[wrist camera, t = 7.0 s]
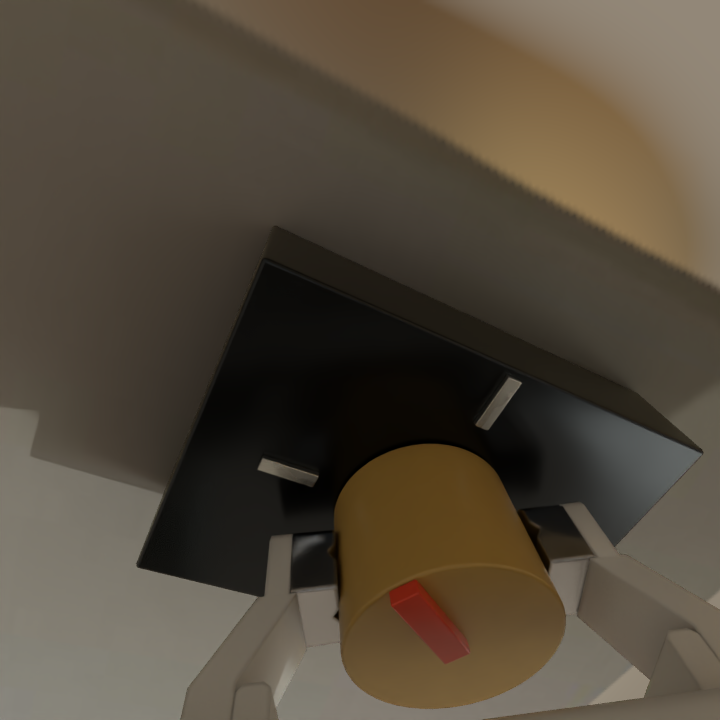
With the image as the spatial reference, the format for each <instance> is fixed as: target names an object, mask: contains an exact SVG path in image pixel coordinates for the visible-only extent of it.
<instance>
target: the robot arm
mask: <svg viewBox="0 0 720 720" xmlns="http://www.w3.org/2000/svg"><path fill="white" fill-rule="evenodd" d="M517 513H518V515H519V517H520V519H521V521H522V523H523V525H524V527H525V529H526V531H527V533H528V535H529V537H530V539H531V541H532V543H533V545H534V547H535V549H536V551H537V553H538V555H539V557H540V559H541V561H542V563H543V565H544V567H545V569H546V571H547V573H548V575H549V576H550V578H551V580H552V582H553V584H554V586H555V588H556V590H557V592H558V594H559V596H560V598H561V600H562V602H563V605H564V609H565V614H566V615H574V614H578V615H577V616H578V617H579V618H580V619H581V620H582V621H583V622H584V623H586V624H587V625H588V626H589V627H590V628H591V629H592V630H594V631H595V632H596V633H597V634H598V635H599V636H601V637H602V638H603V639H604V640H605V641H606V642H607V643H609V644H610V645H611V646H612V647H613V648H614V649H615V650H617V651H618V652H619V653H620V654H621V655H622V656H623V657H625V658H626V659H627V660H628V661H629V662H630V663H631V664H633V665H634V666H635V667H636V668H637V669H638V670H639V671H641V672H642V673H643V674H644V675H645V676H646V677H647V678H649V679H650V682H649V685H648V687H647V690H646V693H645V696H644V698H640V699H632V700H624V701H617V702H609V703H602V704H595V705H587V706H580V707H572V708H565V709H557V710H550V711H542V712H535V713H527V714H520V715H513V716H505V717H498V718H490V719H483V720H720V610H719V609H718V608H716V607H714V606H713V605H711V604H709V603H707V602H706V601H704V600H702V599H701V598H699V597H697V596H696V595H694V594H692V593H691V592H689V591H687V590H685V589H684V588H682V587H680V586H679V585H677V584H675V583H674V582H672V581H670V580H669V579H667V578H665V577H663V576H662V575H660V574H658V573H657V572H655V571H653V570H652V569H650V568H648V567H647V566H645V565H643V564H641V563H640V562H638V561H636V560H635V559H633V558H631V557H630V556H628V555H626V554H624V555H619V553H618V552H617V550H616V549H615V548H614V546H613V545H612V543H611V542H610V541H609V539H608V538H607V536H606V535H605V533H604V532H603V531H602V529H601V528H600V526H599V525H598V524H597V522H596V521H595V519H594V518H593V517H592V515H591V514H590V512H589V511H588V510H587V508H586V507H585V505H584V504H582V503H581V502H574V503H566V504H559V505H549V506H541V507H532V508H524V509H518V511H517ZM339 642H340V629H339V584H338V571H337V550H336V536H335V530H328V531H316V532H305V533H293V534H286V535H274V536H271V539H270V543H269V553H268V563H267V574H266V584H265V594H264V597H258V598H257V599H256V600H255V602H254V603H253V604H252V606H251V607H250V608H249V609H248V611H247V612H246V613H245V615H244V616H243V617H242V619H241V620H240V621H239V622H238V624H237V625H236V626H235V628H234V629H233V630H232V631H231V633H230V634H229V635H228V637H227V638H226V639H225V641H224V642H223V643H222V644H221V646H220V647H219V648H218V650H217V651H216V652H215V653H214V655H213V656H212V657H211V659H210V660H209V661H208V663H207V664H206V665H205V666H204V668H203V669H202V670H201V672H200V673H199V674H198V676H197V677H196V678H195V679H194V681H193V682H192V683H191V685H190V686H189V687H188V688H187V692H186V697H185V701H184V706H183V710H182V715H181V719H180V720H279V719H278V715H277V711H276V708H277V706H278V704H279V702H280V700H281V698H282V696H283V694H284V692H285V690H286V689H287V687H288V685H289V683H290V681H291V679H292V677H293V675H294V673H295V671H296V669H297V667H298V666H299V664H300V662H301V660H302V658H303V656H304V654H305V652H306V648H307V647H313V646H320V645H326V644H333V643H339Z"/></svg>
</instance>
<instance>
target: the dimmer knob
mask: <svg viewBox="0 0 720 720" xmlns="http://www.w3.org/2000/svg"><path fill="white" fill-rule="evenodd" d="M334 530H335V536H336V550H337V571H338V584H339V629H340V648H341V657H342V662H343V665H344V667H345V670H346V672H347V674H348V675H349V677H350V678H351V680H352V681H353V682H354V683H355V684H356V685H357V686H358V687H359V688H360V689H362V690H363V691H364V692H366V693H367V694H369V695H371V696H373V697H374V698H376V699H379V700H381V701H384V702H387V703H390V704H394V705H397V706H403V707H409V708H420V709H438V708H450V707H457V706H463V705H468V704H472V703H476V702H479V701H483V700H486V699H489V698H492V697H494V696H497V695H500V694H502V693H504V692H506V691H508V690H510V689H512V688H514V687H516V686H518V685H519V684H521V683H523V682H524V681H526V680H527V679H529V678H530V677H532V676H533V675H534V674H535V673H536V672H538V671H539V670H540V669H541V668H542V667H543V666H544V665H545V664H546V663H547V662H548V661H549V660H550V659H551V657H552V656H553V655H554V653H555V652H556V650H557V649H558V647H559V645H560V643H561V641H562V638H563V636H564V632H565V626H566V614H565V609H564V605H563V602H562V600H561V598H560V596H559V594H558V592H557V590H556V588H555V586H554V584H553V582H552V580H551V578H550V576H549V575H548V573H547V571H546V569H545V567H544V565H543V563H542V561H541V559H540V557H539V555H538V553H537V551H536V549H535V547H534V545H533V543H532V541H531V539H530V537H529V535H528V533H527V531H526V529H525V527H524V525H523V523H522V521H521V519H520V517H519V515H518V513H517V512H516V510H515V508H514V506H513V504H512V502H511V500H510V498H509V496H508V494H507V492H506V490H505V488H504V486H503V484H502V482H501V480H500V478H499V476H498V475H497V473H496V472H495V470H494V469H493V468H492V467H491V466H490V465H489V464H488V463H487V462H486V461H484V460H483V459H482V458H480V457H479V456H477V455H475V454H473V453H471V452H469V451H467V450H464V449H462V448H459V447H455V446H450V445H444V444H418V445H411V446H406V447H402V448H398V449H395V450H392V451H389V452H387V453H385V454H383V455H381V456H378V457H376V458H375V459H373V460H372V461H370V462H368V463H367V464H366V465H364V466H363V467H362V468H360V469H359V470H358V471H357V472H356V473H355V474H354V475H353V476H352V477H351V478H350V479H349V481H348V482H347V483H346V485H345V486H344V488H343V489H342V491H341V493H340V495H339V497H338V500H337V502H336V506H335V511H334Z"/></svg>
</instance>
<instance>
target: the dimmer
mask: <svg viewBox="0 0 720 720" xmlns="http://www.w3.org/2000/svg"><path fill="white" fill-rule="evenodd" d="M418 444H444V445H450V446H455V447H459V448H462V449H464V450H467V451H469V452H471V453H473V454H475V455H477V456H479V457H480V458H482V459H483V460H484V461H486V462H487V463H488V464H489V465H490V466H491V467H492V468H493V469H494V470H495V472H496V473H497V475H498V476H499V478H500V480H501V482H502V484H503V486H504V488H505V490H506V492H507V494H508V496H509V498H510V500H511V502H512V504H513V506H514V508H515V510H516V512H517V511H518V509H524V508H532V507H541V506H549V505H559V504H566V503H574V502H581V503H582V504H584V505H585V507H586V508H587V510H588V511H589V512H590V514H591V515H592V517H593V518H594V519H595V521H596V522H597V524H598V525H599V526H600V528H601V529H602V531H603V532H604V533H605V535H606V536H607V538H608V539H609V541H610V542H611V543H612V545H613V546H614V547H615V546H616V545H617V544H618V543H619V542H620V541H621V540H622V539H623V538H624V537H625V536H626V535H627V533H628V532H629V531H630V530H631V529H632V528H633V527H634V526H635V525H636V524H637V523H638V522H639V521H640V520H641V519H642V518H643V517H644V516H645V515H646V514H647V512H648V511H649V510H650V509H651V508H652V507H653V506H654V505H655V504H656V503H657V502H658V501H659V500H660V499H661V498H662V497H663V496H664V495H665V494H666V493H667V491H668V490H669V489H670V488H671V487H672V486H673V485H674V484H675V483H676V482H677V481H678V480H679V479H680V478H681V477H682V476H683V475H684V474H685V473H686V472H687V470H688V469H689V468H690V467H691V466H692V465H693V464H694V463H695V462H696V461H697V460H698V459H699V458H700V457H701V456H702V455H703V453H704V452H703V451H702V449H701V448H699V447H698V446H697V445H696V444H695V443H694V442H693V441H691V440H690V439H689V438H688V437H687V436H686V435H685V434H683V433H682V432H681V431H680V430H679V429H678V428H677V427H675V426H674V425H673V424H672V423H671V422H670V421H669V420H667V419H666V418H665V417H664V416H663V415H662V414H660V413H659V412H658V411H657V410H656V409H655V408H654V407H652V406H651V405H650V404H649V403H648V402H647V401H646V400H644V399H643V398H642V397H641V396H640V395H639V394H638V393H636V392H634V391H632V390H629V389H627V388H625V387H623V386H621V385H619V384H616V383H614V382H612V381H610V380H608V379H606V378H604V377H601V376H599V375H597V374H595V373H593V372H591V371H588V370H586V369H584V368H582V367H580V366H578V365H575V364H573V363H571V362H569V361H567V360H565V359H563V358H560V357H558V356H556V355H554V354H552V353H550V352H547V351H545V350H543V349H541V348H539V347H537V346H534V345H532V344H530V343H528V342H526V341H524V340H522V339H519V338H517V337H515V336H513V335H511V334H509V333H506V332H504V331H502V330H500V329H498V328H496V327H493V326H491V325H489V324H487V323H485V322H483V321H481V320H478V319H476V318H474V317H472V316H470V315H468V314H465V313H463V312H461V311H459V310H457V309H455V308H452V307H450V306H448V305H446V304H444V303H442V302H440V301H437V300H435V299H433V298H431V297H429V296H427V295H424V294H422V293H420V292H418V291H416V290H414V289H411V288H409V287H407V286H405V285H403V284H401V283H399V282H396V281H394V280H392V279H390V278H388V277H386V276H383V275H381V274H379V273H377V272H375V271H373V270H370V269H368V268H366V267H364V266H362V265H360V264H358V263H355V262H353V261H351V260H349V259H347V258H345V257H342V256H340V255H338V254H336V253H334V252H332V251H329V250H327V249H325V248H323V247H321V246H319V245H317V244H314V243H312V242H310V241H308V240H306V239H304V238H301V237H299V236H297V235H295V234H293V233H291V232H288V231H286V230H284V229H282V228H280V227H278V226H274V227H273V228H272V230H271V232H270V235H269V237H268V240H267V242H266V245H265V247H264V249H263V252H262V254H261V257H260V259H259V262H258V264H257V267H256V269H255V271H254V274H253V276H252V279H251V281H250V284H249V286H248V289H247V291H246V293H245V296H244V298H243V301H242V303H241V306H240V308H239V310H238V313H237V315H236V318H235V320H234V323H233V325H232V328H231V330H230V332H229V335H228V337H227V340H226V342H225V345H224V347H223V349H222V352H221V354H220V357H219V359H218V362H217V364H216V367H215V369H214V371H213V374H212V376H211V379H210V381H209V384H208V386H207V389H206V391H205V393H204V396H203V398H202V401H201V403H200V406H199V408H198V410H197V413H196V415H195V418H194V420H193V423H192V425H191V428H190V430H189V432H188V435H187V437H186V440H185V442H184V445H183V447H182V450H181V452H180V454H179V457H178V459H177V462H176V464H175V467H174V469H173V471H172V474H171V476H170V479H169V481H168V484H167V486H166V489H165V491H164V494H163V496H162V499H161V501H160V504H159V507H158V509H157V512H156V514H155V517H154V519H153V522H152V525H151V527H150V530H149V532H148V535H147V537H146V540H145V543H144V545H143V548H142V550H141V553H140V555H139V558H138V561H137V563H136V564H137V567H138V568H141V569H146V570H150V571H154V572H158V573H162V574H166V575H171V576H175V577H179V578H183V579H187V580H191V581H196V582H200V583H204V584H208V585H212V586H216V587H221V588H225V589H229V590H233V591H237V592H241V593H245V594H250V595H254V596H258V597H264V594H265V584H266V574H267V563H268V553H269V543H270V539H271V536H274V535H286V534H293V533H305V532H316V531H328V530H334V511H335V506H336V502H337V500H338V497H339V495H340V493H341V491H342V489H343V488H344V486H345V485H346V483H347V482H348V481H349V479H350V478H351V477H352V476H353V475H354V474H355V473H356V472H357V471H358V470H359V469H360V468H362V467H363V466H364V465H366V464H367V463H368V462H370V461H372V460H373V459H375V458H376V457H378V456H381V455H383V454H385V453H387V452H389V451H392V450H395V449H398V448H402V447H406V446H411V445H418Z"/></svg>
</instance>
